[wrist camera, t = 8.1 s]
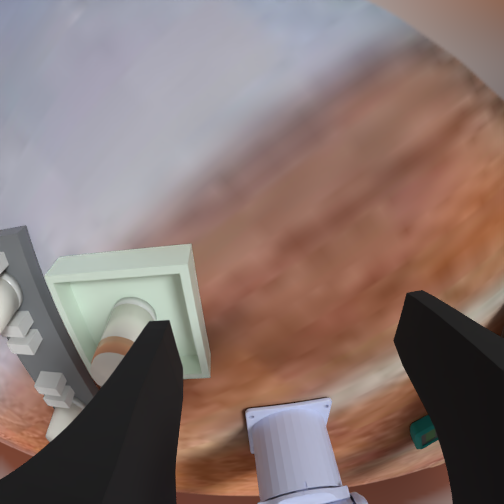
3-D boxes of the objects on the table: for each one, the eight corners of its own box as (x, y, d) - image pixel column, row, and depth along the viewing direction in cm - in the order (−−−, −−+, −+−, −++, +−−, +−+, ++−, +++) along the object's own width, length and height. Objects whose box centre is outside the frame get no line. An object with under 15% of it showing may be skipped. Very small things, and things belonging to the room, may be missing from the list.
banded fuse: (161, 332, 20) (149, 396, 16) (118, 332, 20) (99, 393, 15) (152, 295, 19) (135, 359, 14) (107, 296, 19) (81, 357, 14)
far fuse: (92, 414, 24) (83, 453, 20) (67, 412, 24) (56, 448, 20) (79, 395, 23) (67, 436, 19) (53, 393, 22) (39, 431, 18)
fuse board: (117, 419, 26) (112, 443, 24) (68, 415, 26) (62, 437, 23) (25, 225, 17) (2, 246, 14) (-28, 235, 16) (-50, 255, 14)
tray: (210, 353, 23) (210, 377, 20) (100, 356, 22) (92, 378, 20) (191, 243, 18) (187, 264, 16) (59, 256, 18) (44, 276, 16)
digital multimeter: (490, 389, 34) (499, 402, 32) (410, 438, 36) (417, 453, 34) (496, 365, 31) (506, 380, 29) (407, 422, 33) (415, 439, 31)
